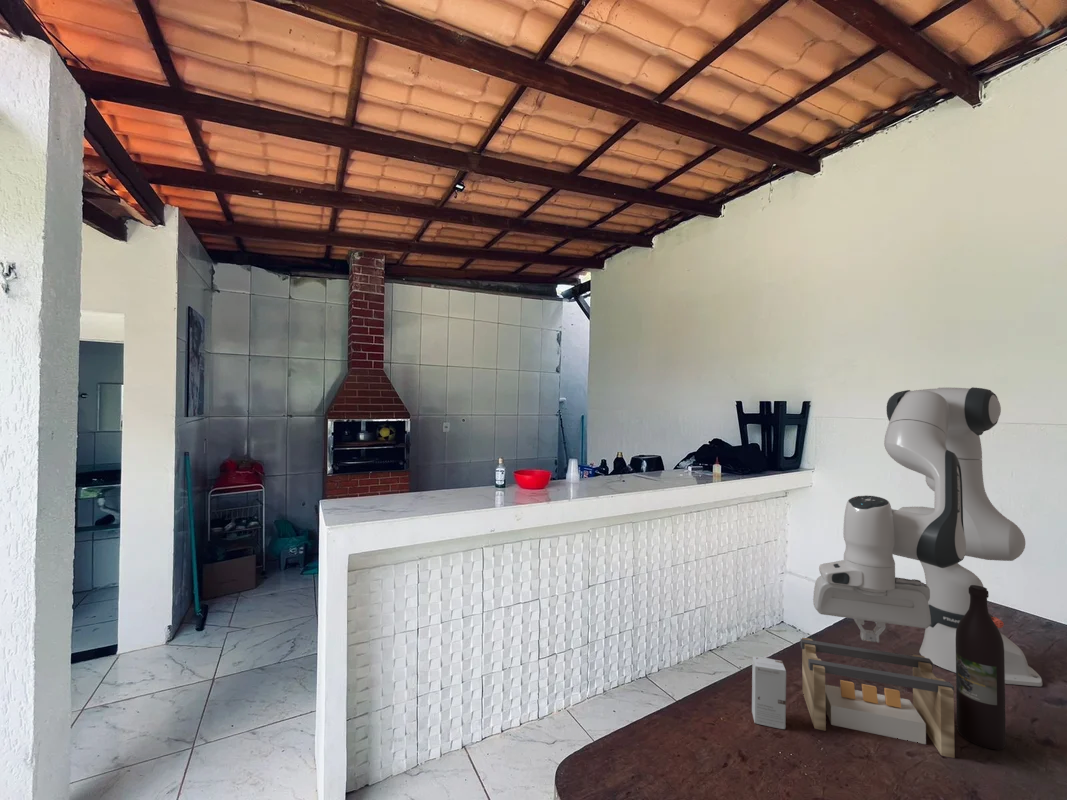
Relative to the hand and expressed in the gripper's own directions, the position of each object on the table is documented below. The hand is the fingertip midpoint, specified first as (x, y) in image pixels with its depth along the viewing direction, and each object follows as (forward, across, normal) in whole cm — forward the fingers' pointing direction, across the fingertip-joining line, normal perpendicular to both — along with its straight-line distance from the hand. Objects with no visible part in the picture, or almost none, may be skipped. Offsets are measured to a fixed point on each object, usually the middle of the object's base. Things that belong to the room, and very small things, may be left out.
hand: (869, 640), depth 98 cm
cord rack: (+17, 0, 0) cm, 17 cm away
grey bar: (+6, 0, +4) cm, 7 cm away
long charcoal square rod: (+6, 0, -4) cm, 7 cm away
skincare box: (+17, +20, +7) cm, 27 cm away
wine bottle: (+17, -19, -2) cm, 26 cm away
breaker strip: (+17, 0, 0) cm, 17 cm away
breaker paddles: (+13, 0, 0) cm, 13 cm away
